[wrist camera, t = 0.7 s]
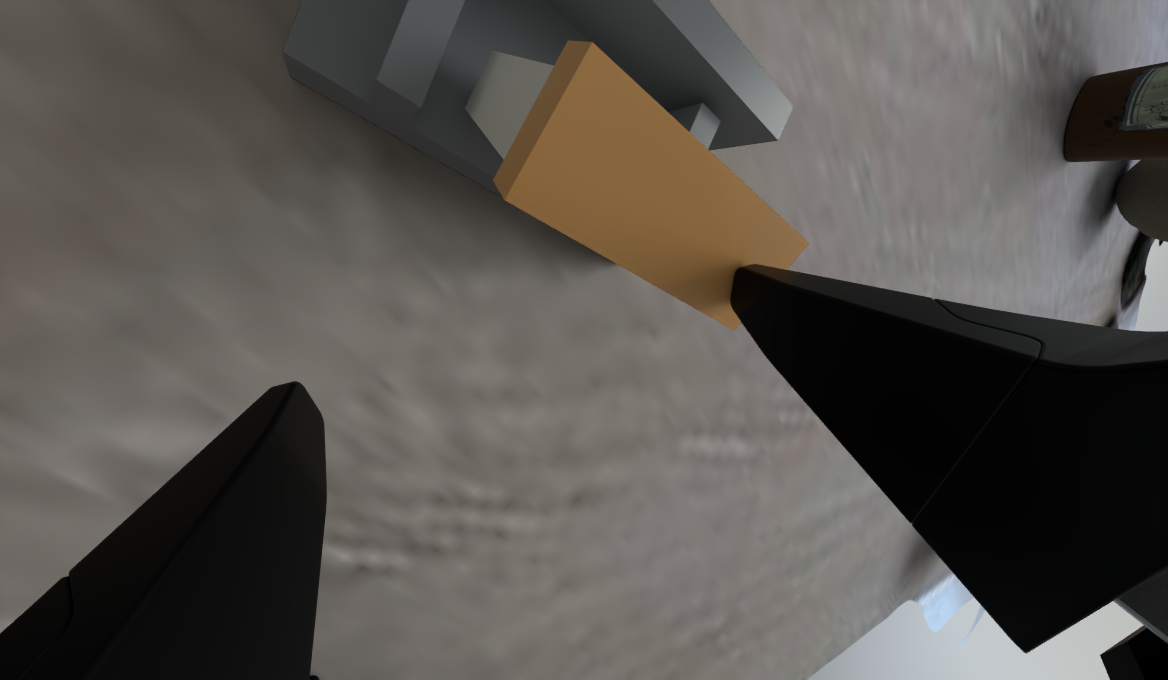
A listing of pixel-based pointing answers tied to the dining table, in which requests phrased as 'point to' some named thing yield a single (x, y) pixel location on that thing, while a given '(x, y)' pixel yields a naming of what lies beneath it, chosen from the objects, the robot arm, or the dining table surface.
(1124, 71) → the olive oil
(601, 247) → the breaker lever
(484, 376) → the dining table surface
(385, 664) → the dining table surface
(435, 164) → the dining table surface
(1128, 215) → the cantaloupe
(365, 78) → the breaker box
